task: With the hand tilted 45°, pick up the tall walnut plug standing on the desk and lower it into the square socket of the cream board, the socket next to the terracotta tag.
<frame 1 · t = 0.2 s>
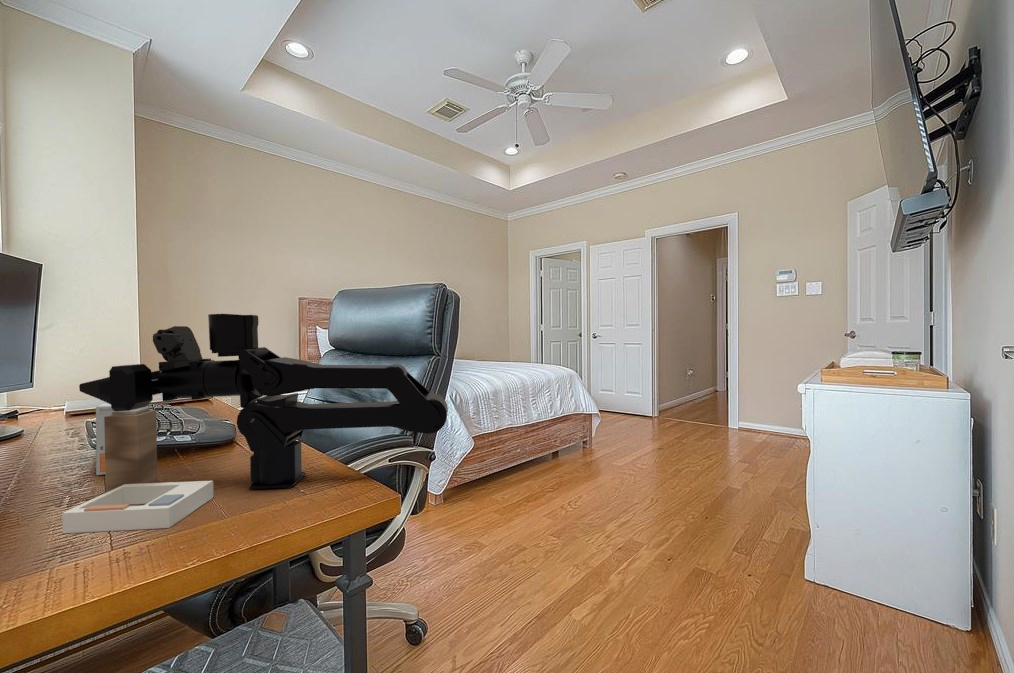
hand: (105, 383, 68), 17 cm above the table, tool horizontal, fingers open, 9 cm apart
walnut plug: (132, 490, 67), on the table
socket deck: (145, 513, 59), on the table
skincare box: (123, 471, 77), on the table
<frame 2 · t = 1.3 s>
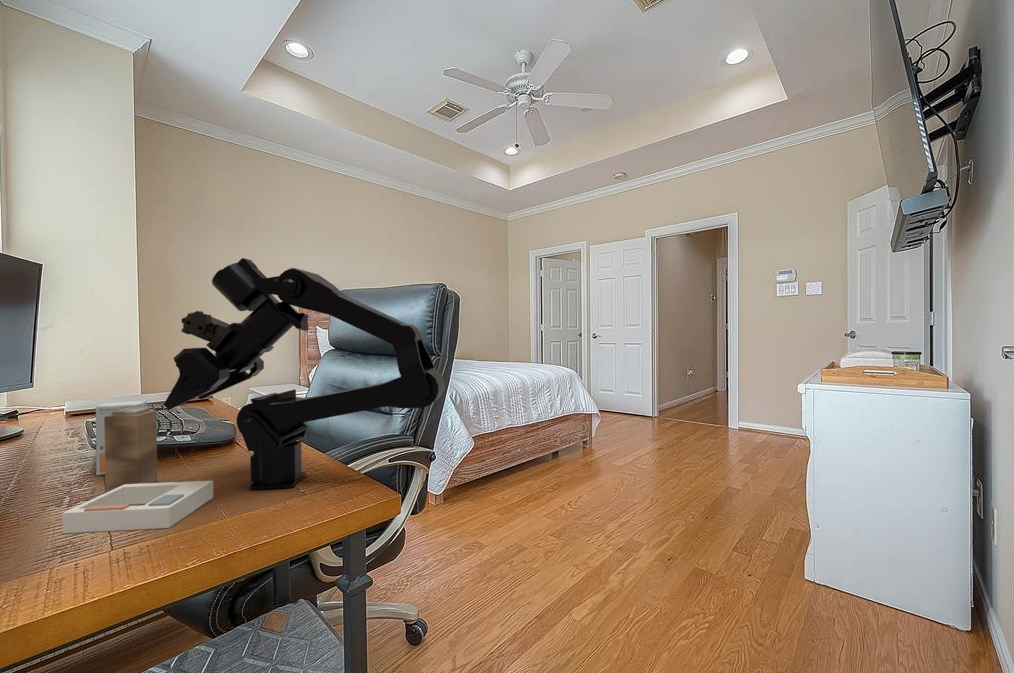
hand: (183, 401, 68), 14 cm above the table, tool tilted 45°, fingers open, 9 cm apart
nothing on the table moved.
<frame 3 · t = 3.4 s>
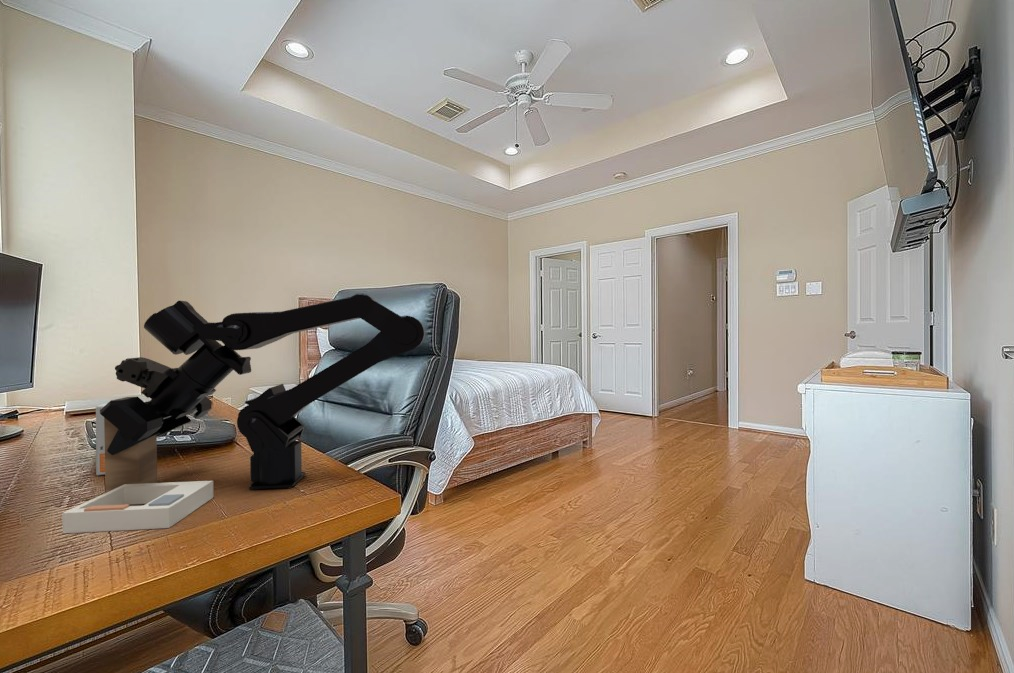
hand: (121, 448, 67), 7 cm above the table, tool tilted 45°, fingers closed on walnut plug, 4 cm apart
walnut plug: (132, 490, 67), on the table, touching gripper
everything else where it was.
when the fingers open (8 cm above the table, at t = 6.9 s): walnut plug drops 1 cm, resting in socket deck.
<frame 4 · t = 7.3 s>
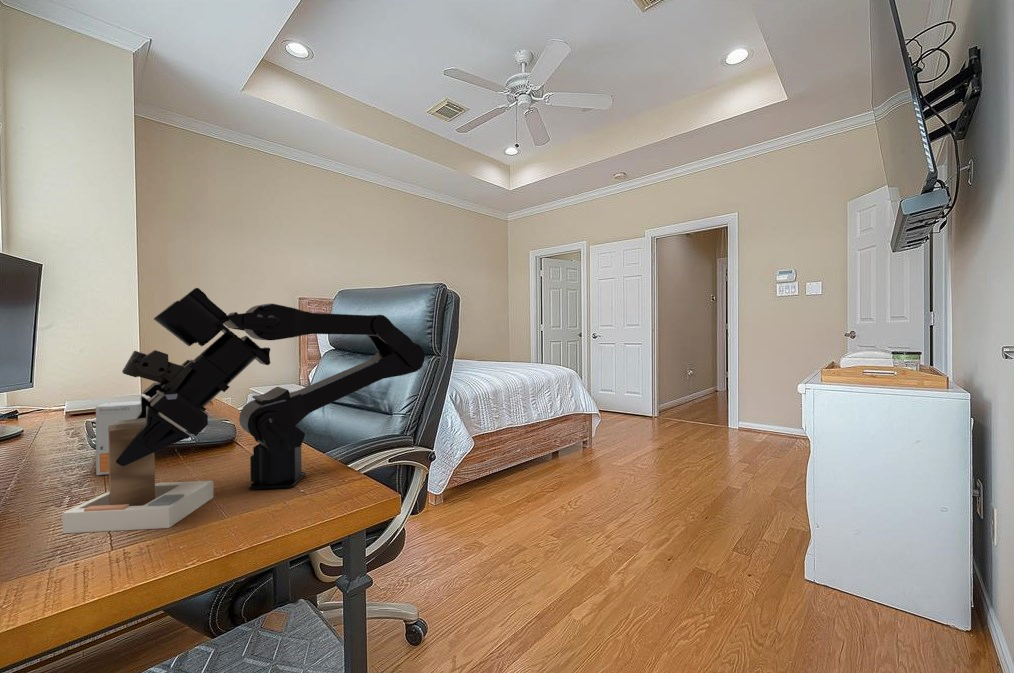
hand: (118, 456, 58), 8 cm above the table, tool tilted 45°, fingers open, 8 cm apart
walnut plug: (132, 514, 59), resting in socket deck
everything else where it was.
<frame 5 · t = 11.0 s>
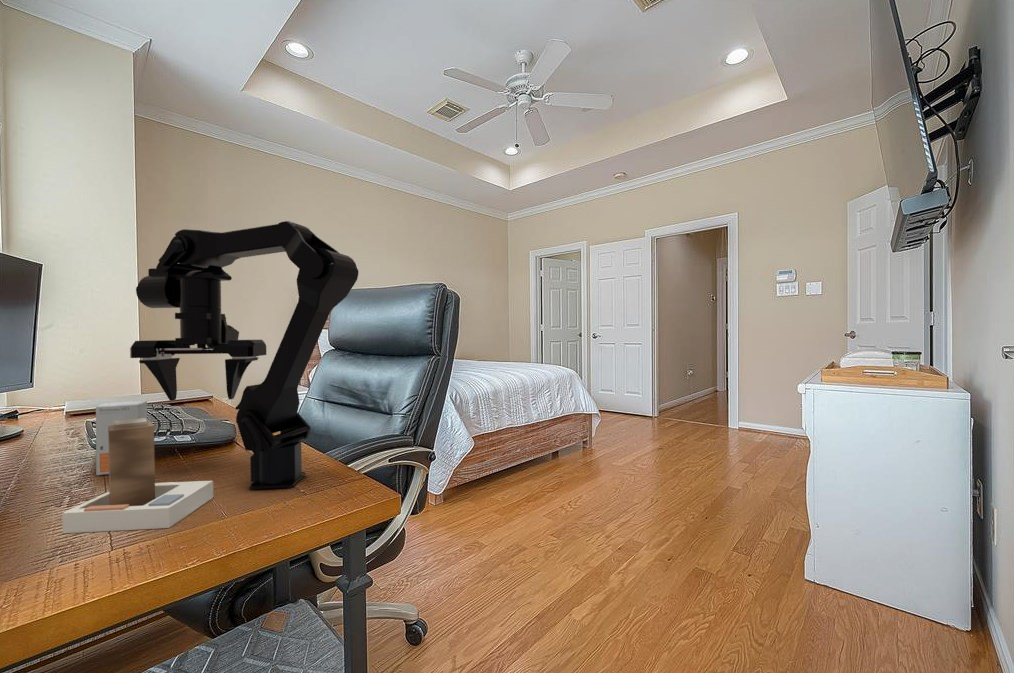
hand: (202, 399, 74), 13 cm above the table, tool pointing down, fingers open, 9 cm apart
nothing on the table moved.
at the end: walnut plug 0.0 cm from the target spot on the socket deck, point 0.0 cm above the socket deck's base; walnut plug tilted 0°; the gripper is holding nothing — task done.
